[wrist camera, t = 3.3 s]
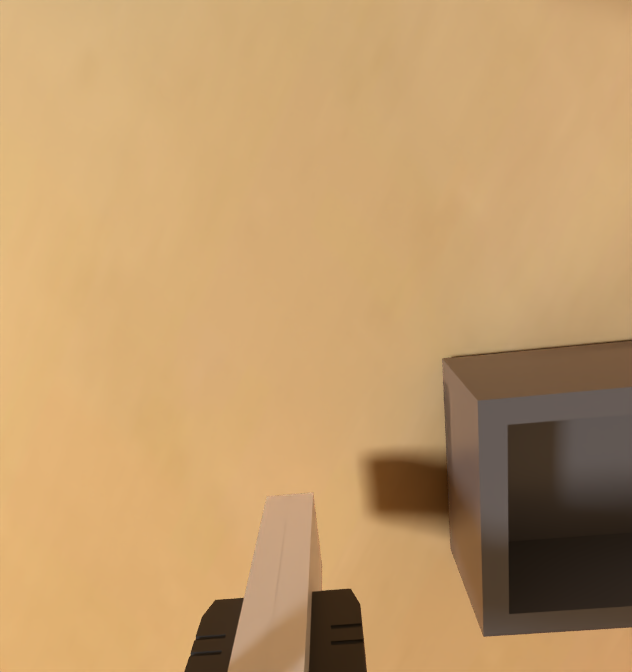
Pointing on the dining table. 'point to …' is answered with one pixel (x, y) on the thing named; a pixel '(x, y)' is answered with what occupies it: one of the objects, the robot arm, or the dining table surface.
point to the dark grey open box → (542, 486)
